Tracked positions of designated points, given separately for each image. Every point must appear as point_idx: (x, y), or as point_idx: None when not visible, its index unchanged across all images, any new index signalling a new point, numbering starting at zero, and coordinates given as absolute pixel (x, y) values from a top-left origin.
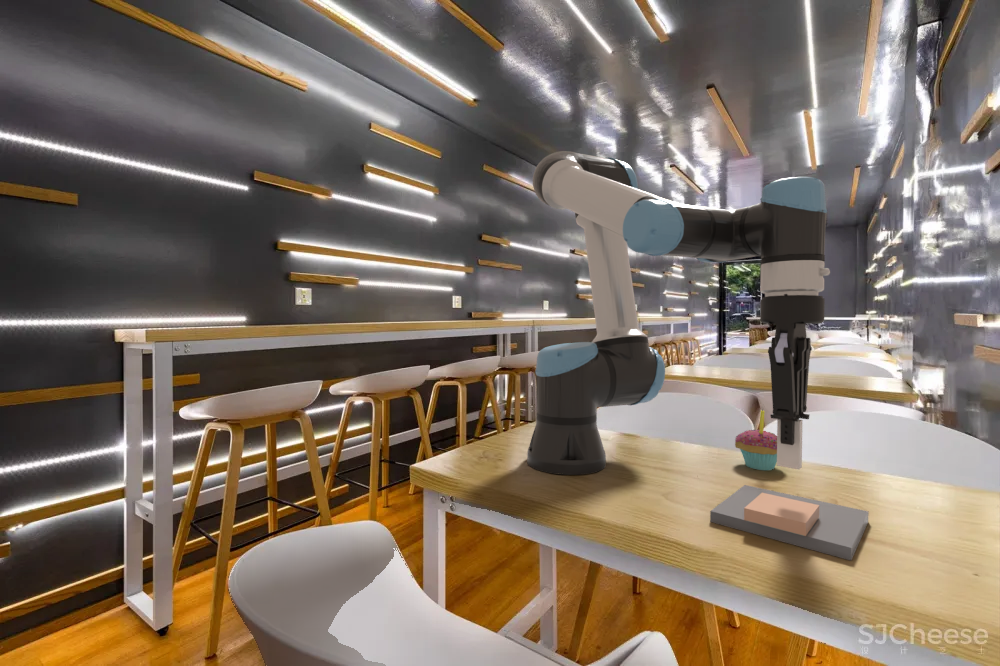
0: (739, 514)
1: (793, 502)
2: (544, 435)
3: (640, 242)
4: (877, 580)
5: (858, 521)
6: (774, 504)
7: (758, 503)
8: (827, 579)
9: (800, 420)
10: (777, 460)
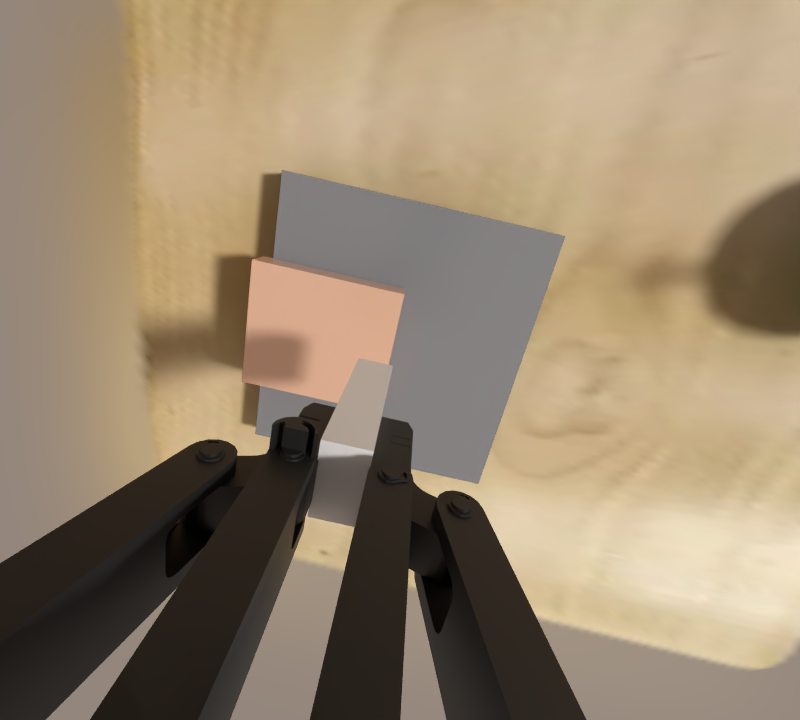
0: (302, 242)
1: None
2: None
3: None
4: None
5: None
6: (323, 324)
7: (308, 289)
8: (168, 385)
9: (337, 519)
10: (355, 365)
